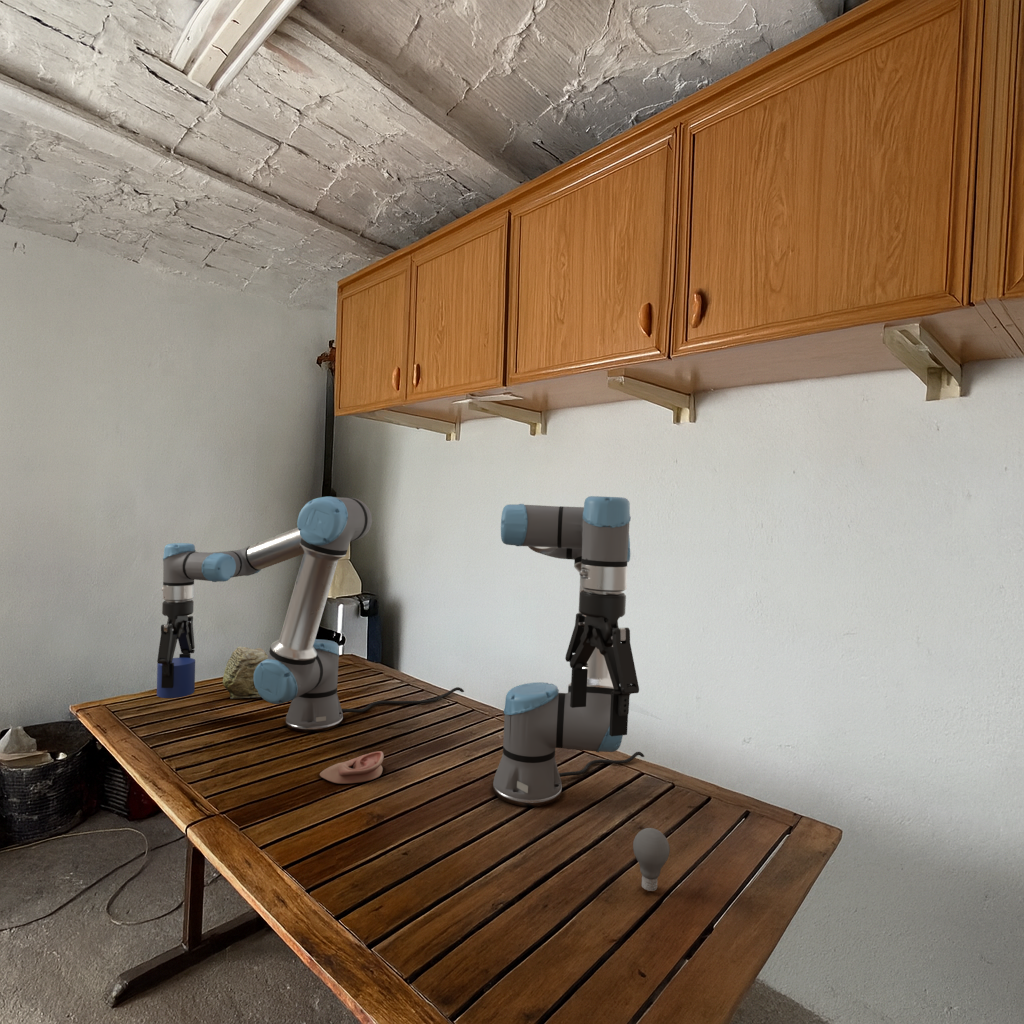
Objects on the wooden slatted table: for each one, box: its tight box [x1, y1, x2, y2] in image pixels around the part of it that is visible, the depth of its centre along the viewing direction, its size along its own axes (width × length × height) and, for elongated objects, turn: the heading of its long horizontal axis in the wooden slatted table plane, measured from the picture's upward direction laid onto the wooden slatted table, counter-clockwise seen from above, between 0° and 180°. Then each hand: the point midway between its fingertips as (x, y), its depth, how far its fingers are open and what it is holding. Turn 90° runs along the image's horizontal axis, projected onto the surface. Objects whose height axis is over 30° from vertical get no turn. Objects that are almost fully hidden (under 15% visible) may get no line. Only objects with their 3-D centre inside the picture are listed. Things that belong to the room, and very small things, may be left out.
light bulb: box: [632, 827, 671, 892], centre depth 106 cm, size 6×6×10 cm
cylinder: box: [156, 657, 196, 699], centre depth 173 cm, size 9×9×9 cm
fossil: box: [222, 646, 268, 699], centre depth 198 cm, size 9×18×15 cm, turn 132°
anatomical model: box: [319, 750, 385, 785], centre depth 145 cm, size 13×4×12 cm
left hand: (176, 682), depth 173 cm, fingers closed on cylinder, 9 cm apart
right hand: (596, 720), depth 104 cm, fingers open, 13 cm apart
